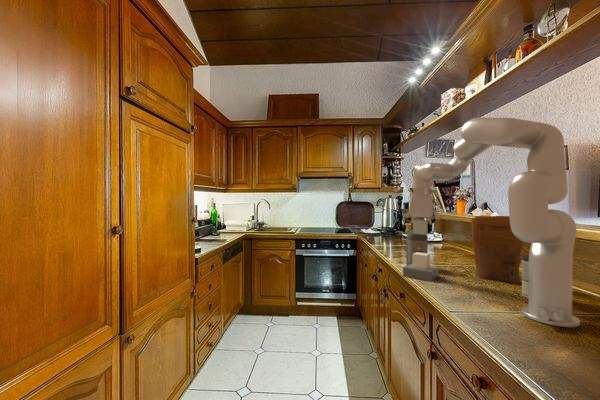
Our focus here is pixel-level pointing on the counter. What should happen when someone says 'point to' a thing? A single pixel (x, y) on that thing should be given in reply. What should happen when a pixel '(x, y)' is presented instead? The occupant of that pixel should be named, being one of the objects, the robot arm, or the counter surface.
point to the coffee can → (525, 276)
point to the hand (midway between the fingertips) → (421, 232)
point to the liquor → (415, 244)
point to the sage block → (420, 227)
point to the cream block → (421, 260)
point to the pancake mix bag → (496, 249)
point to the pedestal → (421, 272)
